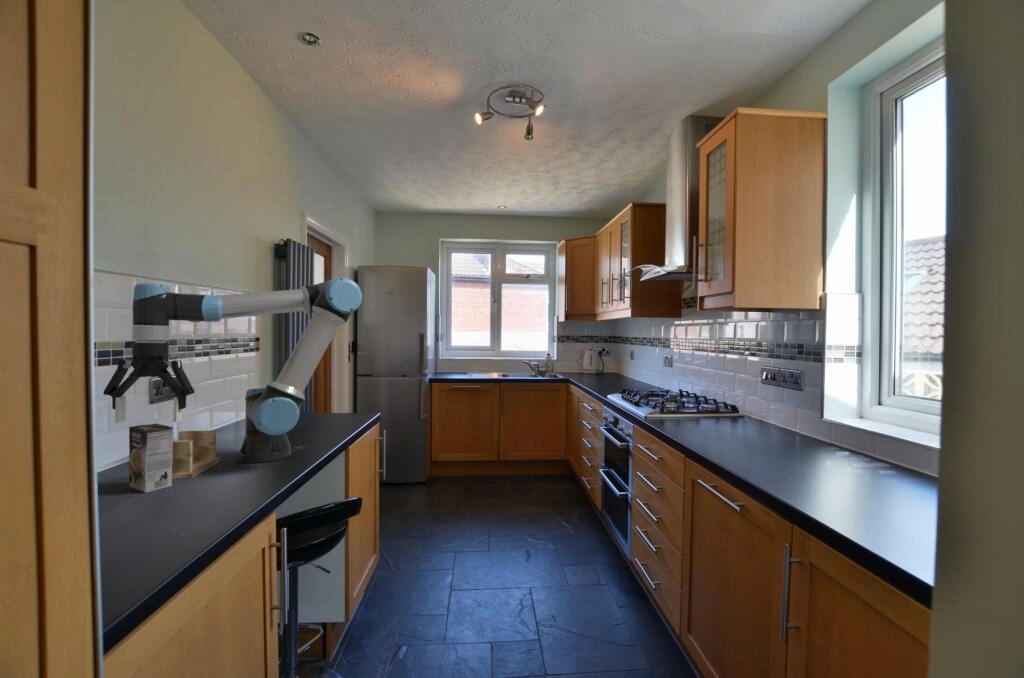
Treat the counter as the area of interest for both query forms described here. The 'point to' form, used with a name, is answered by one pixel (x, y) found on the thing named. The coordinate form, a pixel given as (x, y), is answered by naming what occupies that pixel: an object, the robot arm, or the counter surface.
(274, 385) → the robot arm
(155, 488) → the coffee box
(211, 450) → the oak holder
